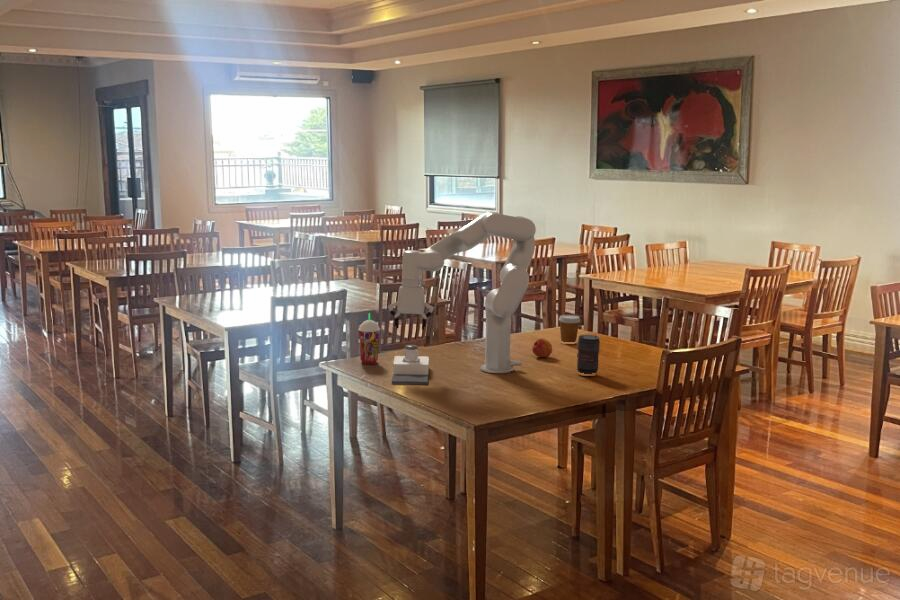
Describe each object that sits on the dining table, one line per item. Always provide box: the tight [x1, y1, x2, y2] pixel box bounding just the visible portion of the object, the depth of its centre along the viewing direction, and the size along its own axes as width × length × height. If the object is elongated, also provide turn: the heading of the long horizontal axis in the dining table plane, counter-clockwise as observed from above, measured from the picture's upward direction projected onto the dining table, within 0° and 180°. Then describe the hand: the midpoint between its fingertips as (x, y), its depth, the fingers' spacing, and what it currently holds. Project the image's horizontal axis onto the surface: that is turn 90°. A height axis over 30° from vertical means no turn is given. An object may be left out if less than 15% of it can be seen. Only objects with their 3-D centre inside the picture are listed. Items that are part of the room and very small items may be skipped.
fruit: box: [531, 338, 553, 358], centre depth 360 cm, size 8×8×8 cm
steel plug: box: [404, 344, 419, 362], centre depth 332 cm, size 5×5×10 cm
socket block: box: [392, 355, 430, 376], centre depth 333 cm, size 13×13×4 cm
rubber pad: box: [391, 373, 429, 385], centre depth 320 cm, size 13×10×1 cm
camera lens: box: [576, 334, 601, 374], centre depth 332 cm, size 8×8×15 cm
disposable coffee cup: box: [558, 314, 581, 342], centre depth 387 cm, size 10×10×12 cm
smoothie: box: [358, 312, 381, 365], centre depth 344 cm, size 8×8×20 cm
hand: (410, 328), depth 330 cm, fingers open, 9 cm apart
